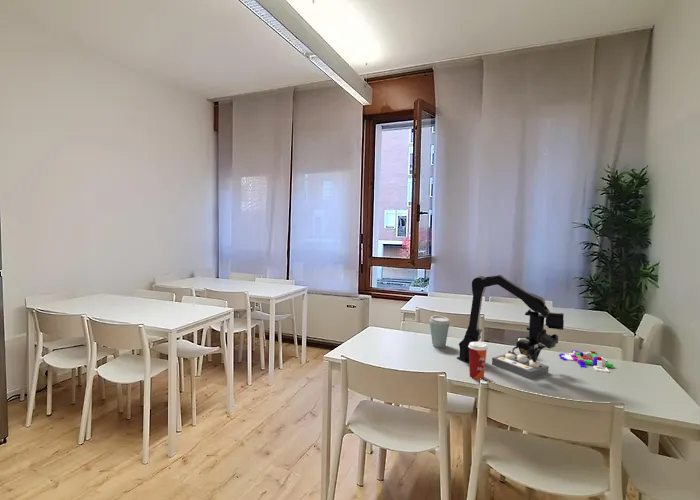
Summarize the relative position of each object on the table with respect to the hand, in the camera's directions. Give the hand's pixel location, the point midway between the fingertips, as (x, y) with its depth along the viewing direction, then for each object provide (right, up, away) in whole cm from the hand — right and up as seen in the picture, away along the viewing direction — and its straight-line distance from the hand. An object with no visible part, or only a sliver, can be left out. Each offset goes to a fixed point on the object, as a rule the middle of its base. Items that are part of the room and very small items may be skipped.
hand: (534, 361), depth 170 cm
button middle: (-3, -2, +5) cm, 7 cm away
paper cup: (-27, -5, -5) cm, 28 cm away
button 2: (0, -3, 0) cm, 3 cm away
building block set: (+31, -5, +16) cm, 35 cm away
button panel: (-4, -4, +5) cm, 8 cm away
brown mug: (+3, -4, +20) cm, 21 cm away
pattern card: (-8, -2, +2) cm, 8 cm away
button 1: (-6, -3, +10) cm, 13 cm away
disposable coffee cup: (-34, -2, +34) cm, 48 cm away
